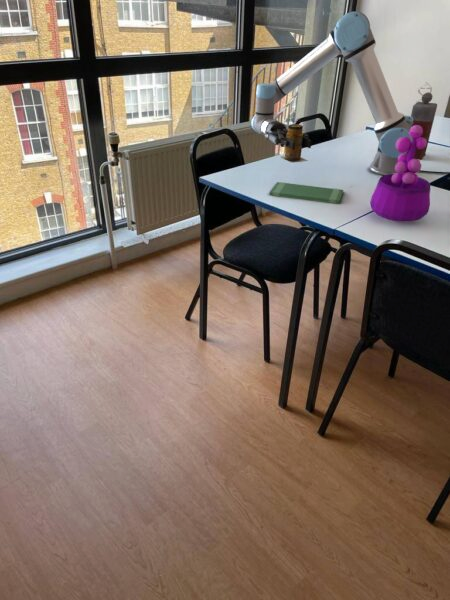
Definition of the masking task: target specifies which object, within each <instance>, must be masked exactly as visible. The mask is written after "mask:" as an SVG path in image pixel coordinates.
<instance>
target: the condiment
mask: <svg viewBox="0 0 450 600" xmlns="http://www.w3.org/2000/svg"><path fill="white" fill-rule="evenodd" d="M287 129H288V133H287V136H286V138H289V139H290V140H292V141H294V142H295V148H294V150H292V149H290V148H288V147H287V146H284V147H285V148H284V149H285V150H284V155H283V156H282V155H281V156H280V158H281V159H282V160H285V161H286V162H289V163H292V164H293V163H302V162H308V161H309V160H308V159H306V158H304V157H302V149H303V145H302V140H303V134H302V133H303V125H302V124H298V123H297V124H296V123H293V124H291V123H290V124H289V125H288V126H287Z"/></svg>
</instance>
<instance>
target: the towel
mask: <svg viewBox="0 0 450 600" xmlns="http://www.w3.org/2000/svg"><path fill="white" fill-rule="evenodd" d="M343 195H344V189H340V188H333V187H332V188H331V187H323V186H314V185H306V184H298V183H297V184H296V183H289V182H280V181H277V182H276V183H275V184H274V186H273V187H272V188H271V190H270V191H269V196H276V197H284V198H293V199H299V200H300V199H301V200H307V201H308V200H309V201H315V202H322V203H323V202H324V203H332V204H338V205H339V204H340V203H341V200H342V197H343Z"/></svg>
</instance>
